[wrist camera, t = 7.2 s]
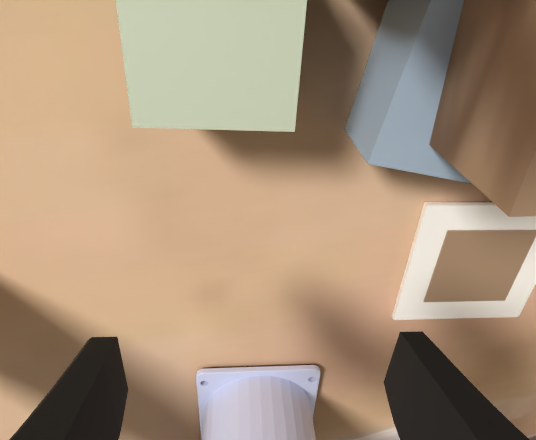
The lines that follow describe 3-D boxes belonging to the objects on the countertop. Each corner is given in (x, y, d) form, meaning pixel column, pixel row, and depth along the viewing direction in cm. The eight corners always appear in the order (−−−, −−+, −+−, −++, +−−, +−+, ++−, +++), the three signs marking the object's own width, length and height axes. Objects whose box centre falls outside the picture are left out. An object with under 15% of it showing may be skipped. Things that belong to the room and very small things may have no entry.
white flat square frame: (515, 313, 25) (519, 318, 25) (391, 316, 24) (393, 321, 24) (572, 202, 21) (577, 206, 21) (424, 202, 20) (427, 206, 20)
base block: (495, 158, 20) (550, 198, 16) (342, 127, 18) (367, 164, 15) (601, -29, 16) (703, -28, 12) (414, -89, 14) (471, -106, 11)
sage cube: (279, 90, 17) (294, 131, 13) (158, 86, 16) (132, 127, 12) (289, -53, 14) (312, -62, 10) (144, -63, 14) (105, -77, 10)
